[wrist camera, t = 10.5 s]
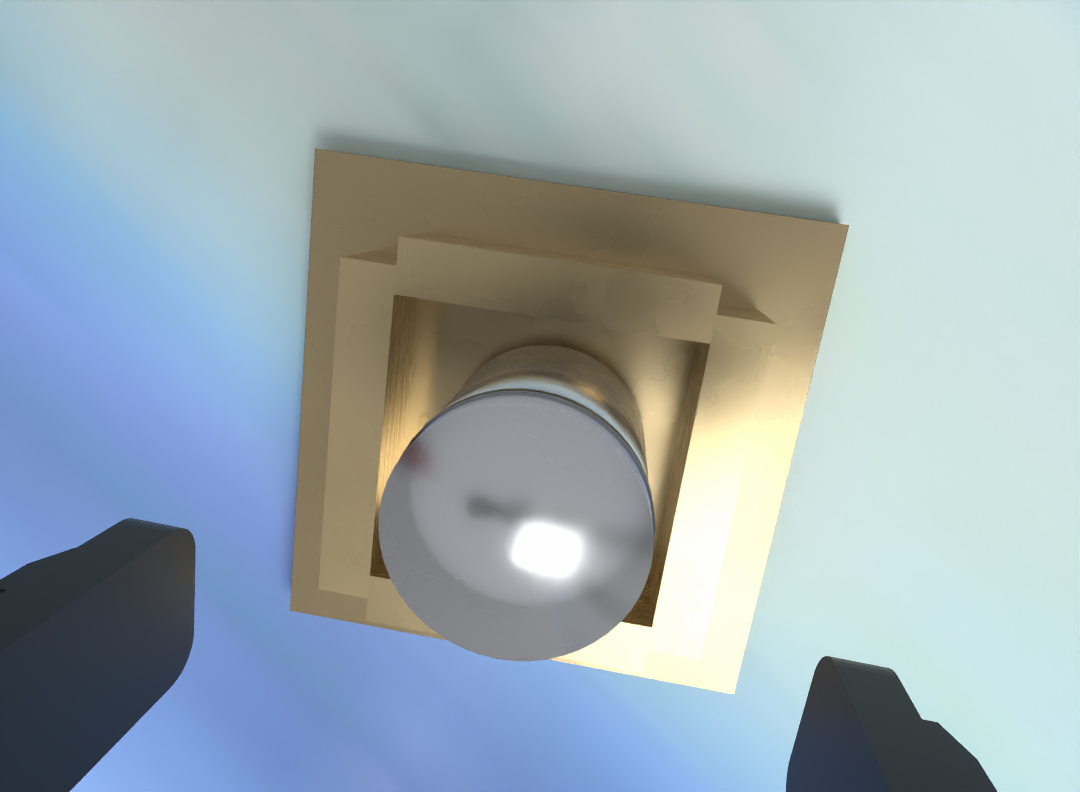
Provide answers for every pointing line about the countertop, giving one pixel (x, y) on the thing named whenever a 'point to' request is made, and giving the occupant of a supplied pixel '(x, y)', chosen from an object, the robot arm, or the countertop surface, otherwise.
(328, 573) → the collar
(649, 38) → the countertop surface
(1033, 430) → the countertop surface
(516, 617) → the cylinder
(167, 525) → the robot arm
